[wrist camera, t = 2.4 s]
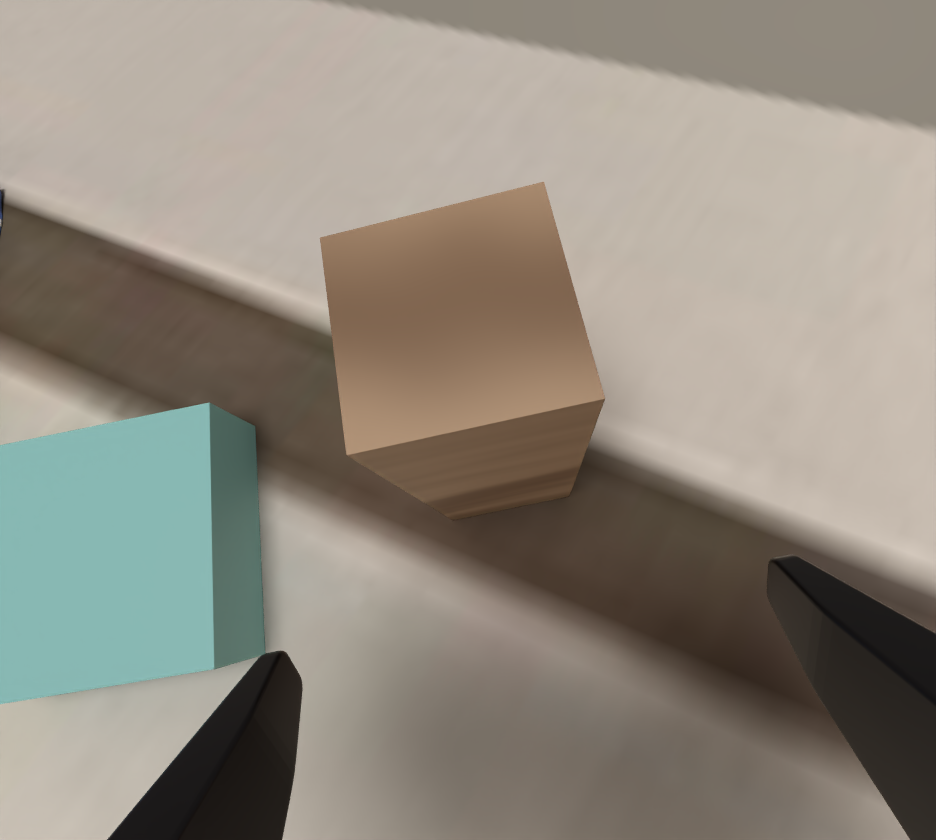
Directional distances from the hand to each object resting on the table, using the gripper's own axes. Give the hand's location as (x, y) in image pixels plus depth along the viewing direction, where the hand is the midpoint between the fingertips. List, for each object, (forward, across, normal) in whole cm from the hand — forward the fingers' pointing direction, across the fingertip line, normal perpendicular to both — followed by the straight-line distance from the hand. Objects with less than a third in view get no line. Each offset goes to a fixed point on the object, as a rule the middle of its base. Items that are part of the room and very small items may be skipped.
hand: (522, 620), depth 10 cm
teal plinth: (+12, +16, +6) cm, 21 cm away
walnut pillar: (+13, 0, +4) cm, 14 cm away
